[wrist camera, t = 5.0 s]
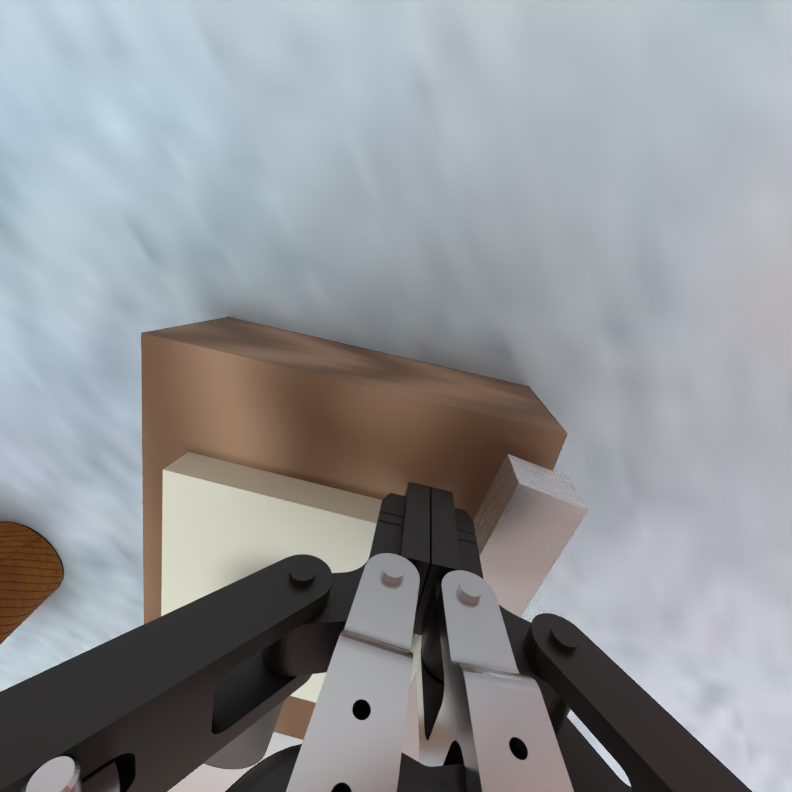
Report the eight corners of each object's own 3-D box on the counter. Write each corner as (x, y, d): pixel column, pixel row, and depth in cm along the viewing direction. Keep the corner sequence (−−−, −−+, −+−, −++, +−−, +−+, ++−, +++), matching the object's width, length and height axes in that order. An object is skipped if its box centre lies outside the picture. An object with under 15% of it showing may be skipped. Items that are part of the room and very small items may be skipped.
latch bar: (572, 478, 12) (603, 523, 10) (377, 806, 18) (368, 879, 16) (501, 451, 12) (515, 490, 10) (330, 788, 18) (315, 858, 16)
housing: (529, 387, 19) (582, 451, 12) (435, 664, 25) (433, 815, 18) (227, 317, 20) (107, 338, 13) (209, 603, 26) (122, 726, 19)
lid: (427, 511, 15) (419, 656, 9) (379, 684, 18) (351, 871, 12) (188, 451, 15) (39, 554, 10) (182, 630, 18) (67, 787, 13)
